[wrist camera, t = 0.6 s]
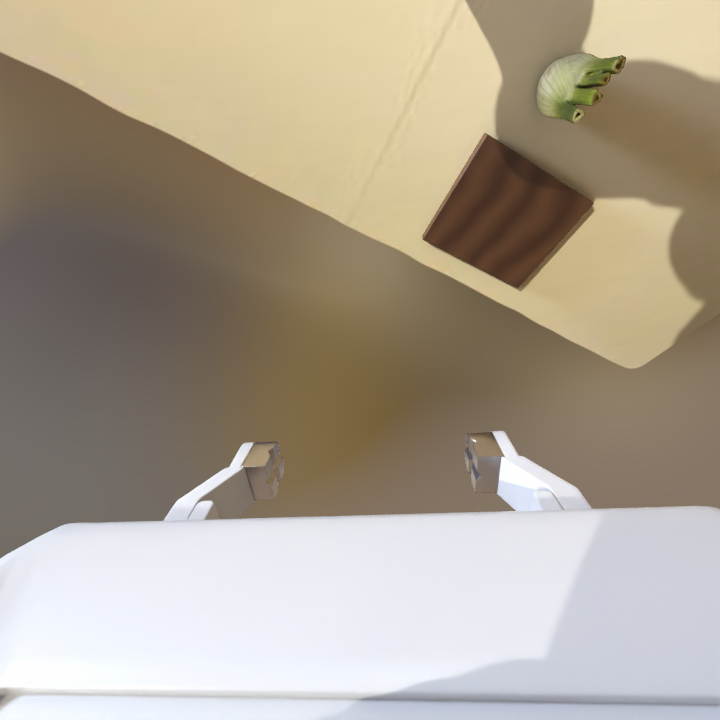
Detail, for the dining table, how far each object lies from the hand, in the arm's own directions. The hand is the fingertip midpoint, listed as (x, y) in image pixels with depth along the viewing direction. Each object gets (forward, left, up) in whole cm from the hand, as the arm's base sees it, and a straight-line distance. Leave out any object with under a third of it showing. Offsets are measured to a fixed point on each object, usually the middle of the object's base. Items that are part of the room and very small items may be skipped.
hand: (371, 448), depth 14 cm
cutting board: (-10, +19, -47) cm, 52 cm away
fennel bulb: (-23, +9, -48) cm, 54 cm away
